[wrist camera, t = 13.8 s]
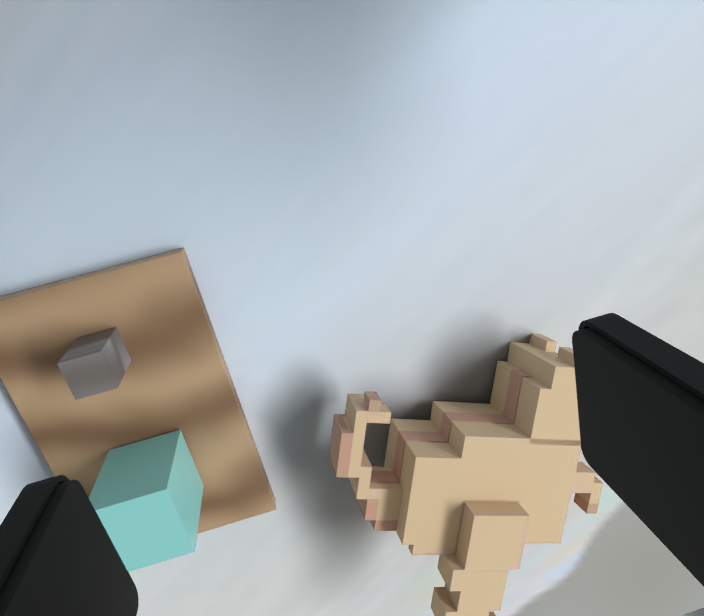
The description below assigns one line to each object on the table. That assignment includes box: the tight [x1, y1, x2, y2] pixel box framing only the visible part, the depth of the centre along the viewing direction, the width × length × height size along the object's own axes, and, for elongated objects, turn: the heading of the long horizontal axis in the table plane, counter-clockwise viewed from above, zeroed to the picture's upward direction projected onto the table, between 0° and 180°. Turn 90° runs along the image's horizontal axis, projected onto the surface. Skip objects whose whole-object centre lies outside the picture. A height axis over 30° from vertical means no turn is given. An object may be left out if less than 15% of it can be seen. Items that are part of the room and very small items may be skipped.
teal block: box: [89, 430, 204, 572], centre depth 37 cm, size 5×5×7 cm
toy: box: [329, 334, 603, 616], centre depth 40 cm, size 10×20×20 cm
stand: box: [0, 248, 276, 534], centre depth 37 cm, size 22×14×5 cm, turn 13°
